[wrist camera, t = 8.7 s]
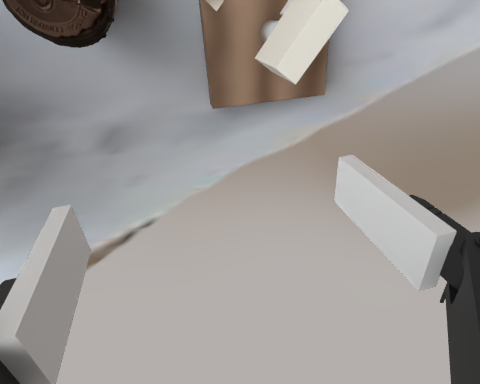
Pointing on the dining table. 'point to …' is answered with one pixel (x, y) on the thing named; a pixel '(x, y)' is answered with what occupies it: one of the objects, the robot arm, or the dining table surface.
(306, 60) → the white piece
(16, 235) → the dining table surface
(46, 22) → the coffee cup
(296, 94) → the board
